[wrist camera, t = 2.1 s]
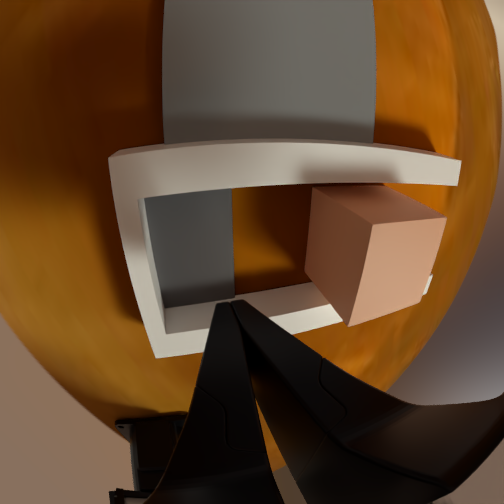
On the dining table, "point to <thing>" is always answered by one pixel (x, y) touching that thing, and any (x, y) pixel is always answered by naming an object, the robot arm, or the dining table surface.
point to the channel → (220, 223)
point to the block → (370, 249)
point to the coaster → (268, 70)
